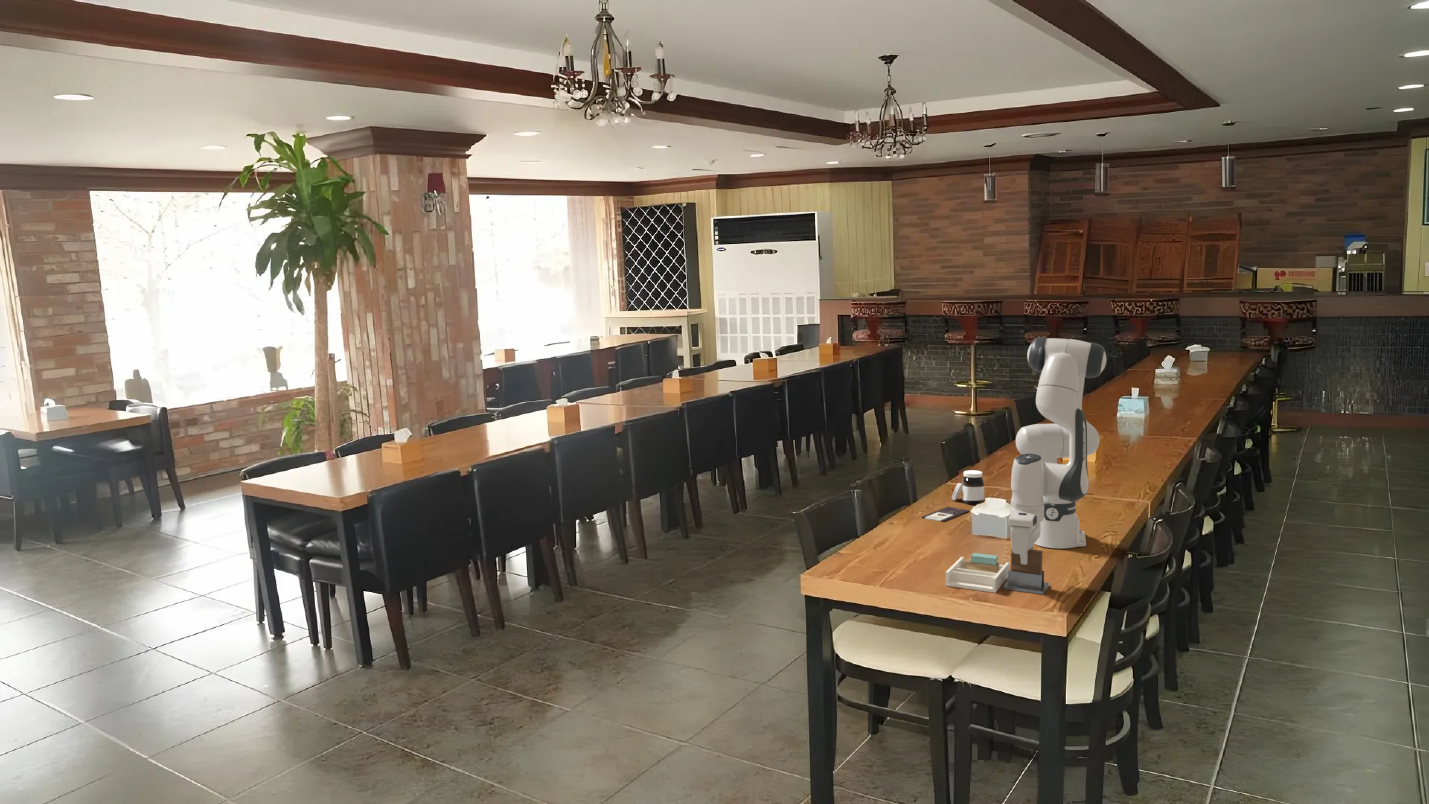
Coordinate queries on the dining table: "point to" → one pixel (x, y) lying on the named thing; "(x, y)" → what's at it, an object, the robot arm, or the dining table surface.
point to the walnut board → (1033, 562)
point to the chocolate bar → (945, 514)
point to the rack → (975, 577)
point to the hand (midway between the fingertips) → (1026, 561)
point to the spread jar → (970, 487)
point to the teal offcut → (984, 559)
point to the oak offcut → (982, 567)
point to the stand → (1026, 582)
